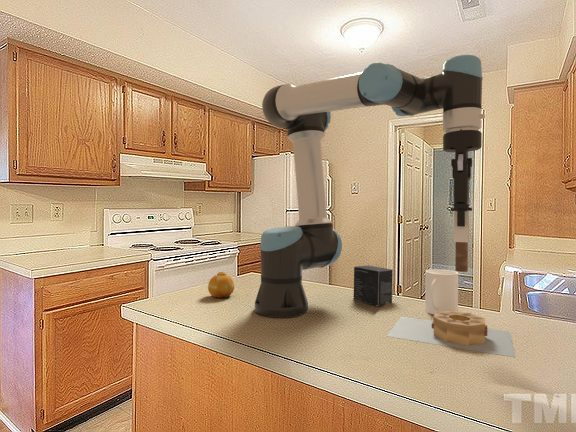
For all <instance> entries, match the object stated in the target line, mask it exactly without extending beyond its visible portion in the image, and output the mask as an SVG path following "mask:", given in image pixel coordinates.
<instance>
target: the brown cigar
mask: <svg viewBox="0 0 576 432" xmlns="http://www.w3.org/2000/svg"><path fill="white" fill-rule="evenodd" d="M467 211H468V210H467ZM468 245H469V241H468V242H455V262H454V263H455V264H454V265H455V268H454V269H455V270H454V271H456V272H458V273H467V272H468V270H469V268H468V266H469V260H468V258H469V257H468V256H469V255H468V254H469V250H468V249H469V246H468Z"/></svg>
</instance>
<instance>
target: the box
mask: <svg viewBox="0 0 576 432" xmlns="http://www.w3.org/2000/svg"><path fill="white" fill-rule="evenodd" d="M352 297H353V300H356V301H357V302H358V301H359V302H361V303H365V304H368V305H369V304H370V305H371V306H372V305H373V306H376V307H382V306H386V304H388V303H389V304H390V303H391V304H392V303H393V268H392V269H391V268H385V267H380V266H374V265H369V264H368V265H358V266H354V267H353V296H352Z"/></svg>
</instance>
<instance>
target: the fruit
mask: <svg viewBox="0 0 576 432" xmlns="http://www.w3.org/2000/svg"><path fill="white" fill-rule="evenodd" d="M207 290H208V292H209V294H210V296H212V297H214V298H216V297H217V298H218V299H223V297H224V298H228V297H230V296H231V295H232V294H233V293H234V290H235V283H234V280H233V278H232V277H231V276H230V275H228V274H227V273H226V272H224V271H220V272H217V274H216V275H213V276H212V277H211V278H210V280H209V281H208V285H207Z"/></svg>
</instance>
